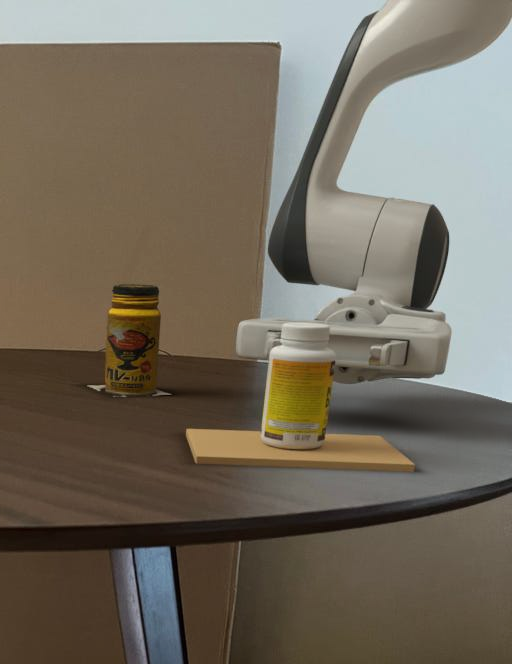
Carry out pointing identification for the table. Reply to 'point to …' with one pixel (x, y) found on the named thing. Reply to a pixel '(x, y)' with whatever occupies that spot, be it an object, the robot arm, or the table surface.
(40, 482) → the table surface
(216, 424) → the table surface
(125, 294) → the condiment
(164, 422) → the table surface
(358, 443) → the wooden board
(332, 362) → the supplement bottle
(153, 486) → the table surface
